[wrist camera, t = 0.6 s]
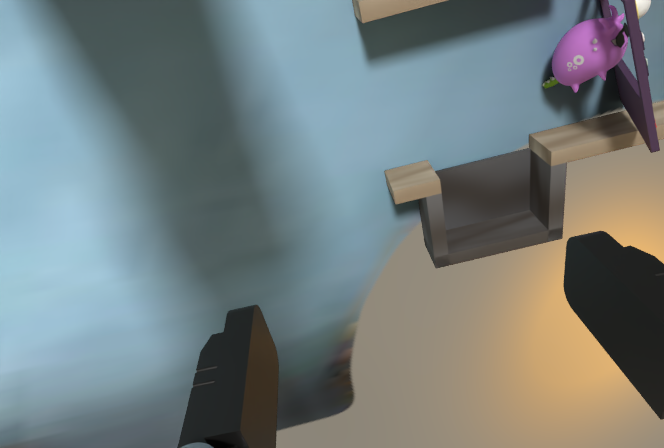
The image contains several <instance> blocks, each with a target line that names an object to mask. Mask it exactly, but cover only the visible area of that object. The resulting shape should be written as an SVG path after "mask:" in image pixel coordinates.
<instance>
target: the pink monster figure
mask: <svg viewBox="0 0 664 448" xmlns="http://www.w3.org/2000/svg"><path fill="white" fill-rule="evenodd" d="M621 1H622V2H623V4H624V9H625V14H626V20H627V25H626V23H624V26H623V25H622V24H621V23H620V22H621V21H622V20H623V18H624V13H623V14H622V15H620V16H618V13H617V10H616V8H615V7H614V6H612V5H609V2H608V0H600V3H601V8H602V13H603V18H597V19H590V20H587V21H584V22H581V23H579V24H577V25H576V26H574V27H573V28H571V29H570V30H569V31H568V32H567V33H566V34H565V35H564V36H563V38H562V39H561V40H560V42H559V43H558V45H557V47H556V49H555V51H554V54H553V58H552V70H553V74H554V78H553V77H552V78H551V77H550V80H547V82H546V81H545V83H543V85H542V86H544V88H549V87H552V86H554V85H556V84H558V83H561V84H563V85H566V86H571V87H572V89H573V91H574V92H575V93H576V92H577V91H578V89H579V85H580V84H581V83H583V82H585V81H587V80H589V79H591V78H593V77H595V76H597V75H599V76H600V77H601V78H602V79H603V80H604V81H605V80H606V73H607V71H608V70H609V69H611V68H613V67H614V71H615V76H616V81H617V86H618V90H619V95H620V100H621V102H622V104H623V105H624V107H625V109H626V110H627V112H628V114H629V116H630V117H631V119H632V121H633V122H634V124H635V126H636V128H637V129H638V131H639V133H640V134H641V136H642V138H643V140H644V141H645V143H646V145H647V146H648V148H649V150H650V152H651V153H652V152H656V151H659V150H660V149H659V143H658V136H657V130H656V128H657V126H656V123H655V120H656V119H655V118H654V112H653V106H652V100H651V94H650V88H649V82H648V76H649V73H648V62H647V59H646V58H645V56H644V51H643V50H645V48H644V41H645V38H644V35H643V33H642V32H641V31H640V27H639V21H638V20H639V18H640V17H642V16H643V15H644V14H645V13H646V12H647V11H648V9H649V7H650V4H651V0H621ZM610 9H611V11H612V16H611V12H610ZM628 37H630V42H631V48H632V54H633V59H634V65H635V70H636V76H637V80H636V79H635V77H634V76H633V74H632V73H631V71H630V70H629V69H628V67H627V66H626V64H625V63H624V61H623V60H622V57H623V55H624V53H625V51H626V48H627V43H628Z"/></svg>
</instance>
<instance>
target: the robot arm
mask: <svg viewBox="0 0 664 448" xmlns="http://www.w3.org/2000/svg"><path fill="white" fill-rule="evenodd" d="M564 292H565V295H566V298H567V301H568V303H569V305H570V306H571V308H572V309H573V311H574V312H575V313H576V314H577V315H578V317H579V318H580V319H581V321H582V322H583V323H584V324H585V326H586V327H587V328H588V329H589V331H590V332H591V333H592V334H593V336H594V337H595V338H596V339H597V340H598V342H599V343H600V344H601V346H602V347H603V348H604V349H605V351H606V352H607V353H608V354H609V355H610V357H611V358H612V359H613V361H614V362H615V363H616V364H617V366H618V367H619V368H620V369H621V371H622V372H623V373H624V374H625V376H626V377H627V378H628V379H629V381H630V382H631V383H632V384H633V386H634V387H635V388H636V389H637V391H638V392H639V393H640V394H641V396H642V397H643V398H644V399H645V401H646V402H647V403H648V404H649V406H650V407H651V408H652V409H653V411H654V412H655V413H656V414H657V416H658V417H659V418H660V419H664V264H663V263H662V262H661V261H659V260H658V259H657V258H656V257H654V256H653V255H650V254H648V253H646V252H644V251H641V250H639V249H637V248H635V247H632V246H627V247H623V246H621V245H620V244H619V243H618V242H617V241H616V240H615V239H613V238H612V237H611V236H610V235H609V234H607V233H606V232H604V231H598V232H593V233H588V234H584V235H579V236H575V237H571V238H569V240H568V241H567V246H566V259H565V274H564ZM196 370H197V373H195V377H194V381H193V388H192V390H191V394H190V398H189V402H188V407H187V411H186V415H185V419H184V423H183V427H182V432H181V436H180V440H179V444H178V447H177V448H276V428H277V401H278V374H279V364H278V356H277V351H276V347H275V344H274V342H273V339H272V337H271V334H270V332H269V329H268V327H267V324H266V322H265V319H264V317H263V314H262V312H261V310H260V308H259V306H258V305H253V306H248V307H244V308H239V309H235V310H230V311H229V312H228V313H227V317H226V323H225V328H224V332H223V333H218V334H213V335H212V336H211V337H210V339H209V340H208V342H207V343H206V345H205V346H204V347H203V349H202V350H201V352H200V356H199V361H198V365H197V369H196Z"/></svg>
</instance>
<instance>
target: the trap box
mask: <svg viewBox="0 0 664 448" xmlns="http://www.w3.org/2000/svg"><path fill="white" fill-rule="evenodd" d="M443 1H447V0H352V2H353V7H354V13H355V16H356V17H357V18H358V19H359V20H360V21H361V22H362V23H365V22H369V21H373V20H376V19H380V18H384V17H388V16H391V15H395V14H399V13H402V12H406V11H410V10H414V9H417V8H421V7H425V6H428V5H432V4H436V3H440V2H443ZM652 106H653V112H654V118H655V119H656V120H655V123H656V126H657V128H656V130H657V136H658V140H660V139H664V101H661V102H657V103H653V104H652ZM644 143H645V141H644V140H643V138H642V136H641V134H640V133H639V131H638V129H637V128H636V126H635V124H634V122H633V121H632V119H631V117H630V116H629V114H628V112H627V110H625V111H621V112H617V113H613V114H609V115H605V116H601V117H597V118H593V119H589V120H585V121H581V122H577V123H573V124H569V125H565V126H561V127H557V128H553V129H549V130H545V131H541V132H537V133H533V134H529V148H527V149H523V150H519V151H515V152H511V153H507V154H503V155H499V156H495V157H491V158H487V159H483V160H479V161H475V162H471V163H467V164H463V165H459V166H455V167H451V168H447V169H443V170H439V171H434V170H433V168H432V166H431V165H430V163H429V162H428V160H426V161H422V162H418V163H414V164H410V165H406V166H402V167H398V168H394V169H390V170H386V171H385V177H386V182H387V185H388V188H389V190H390V192H391V195H392V197H393V200H394V202H395V204H400V203H404V202H408V201H412V200H416V199H418V201H419V208H420V214H421V221H422V228H423V234H424V241H425V246H426V248H427V250H428V252H429V254H430V257H431V259H432V261H433V263H434V265H435V267H436V268H440V267H444V266H448V265H453V264H457V263H461V262H465V261H470V260H474V259H478V258H482V257H486V256H491V255H495V254H499V253H503V252H508V251H511V250H516V249H520V248H525V247H529V246H533V245H537V244H541V243H546V242H550V241H554V240H558V239H562V234H563V218H564V201H565V185H566V168H567V162H570V161H575V160H579V159H583V158H587V157H591V156H595V155H599V154H603V153H607V152H611V151H615V150H619V149H624V148H627V147H632V146H636V145H640V144H644Z"/></svg>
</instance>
